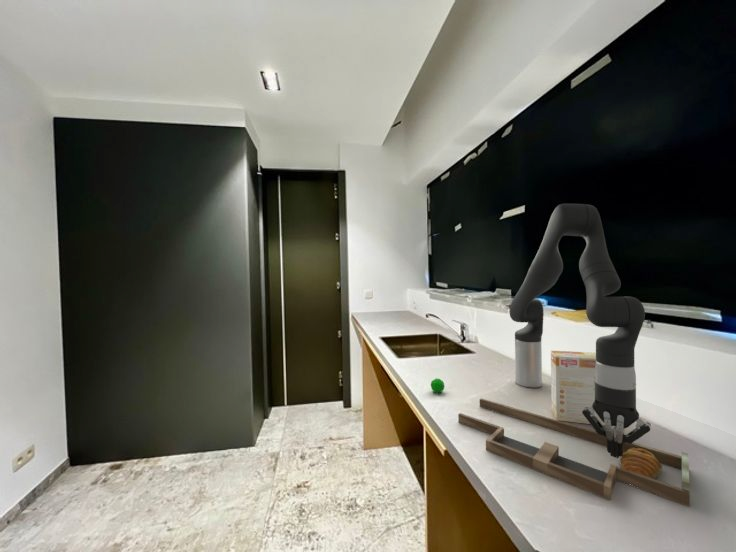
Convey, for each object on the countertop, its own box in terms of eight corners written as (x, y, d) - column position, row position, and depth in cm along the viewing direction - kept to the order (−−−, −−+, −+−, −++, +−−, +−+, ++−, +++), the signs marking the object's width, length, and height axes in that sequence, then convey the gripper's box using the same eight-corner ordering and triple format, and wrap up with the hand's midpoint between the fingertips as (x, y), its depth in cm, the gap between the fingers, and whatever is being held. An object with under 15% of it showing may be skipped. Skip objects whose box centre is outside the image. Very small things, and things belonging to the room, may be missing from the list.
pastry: (656, 491, 64) (656, 472, 63) (615, 475, 69) (614, 458, 69) (662, 470, 70) (662, 453, 70) (624, 457, 75) (623, 441, 75)
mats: (504, 437, 84) (504, 435, 84) (610, 475, 68) (610, 474, 68) (491, 449, 79) (491, 448, 79) (604, 495, 62) (604, 493, 62)
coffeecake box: (607, 416, 94) (606, 352, 94) (617, 428, 87) (616, 359, 87) (550, 410, 99) (550, 349, 99) (556, 420, 92) (555, 355, 92)
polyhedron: (447, 392, 115) (447, 379, 115) (438, 395, 112) (438, 382, 112) (437, 388, 119) (436, 375, 119) (428, 391, 116) (427, 378, 116)
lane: (481, 405, 103) (480, 393, 103) (687, 469, 70) (688, 451, 69) (444, 432, 87) (443, 418, 87) (690, 533, 53) (690, 510, 53)
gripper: (654, 384, 70) (654, 460, 71) (584, 371, 80) (584, 438, 80) (652, 395, 65) (652, 476, 65) (577, 379, 74) (577, 451, 75)
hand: (614, 455), depth 73 cm, fingers closed
